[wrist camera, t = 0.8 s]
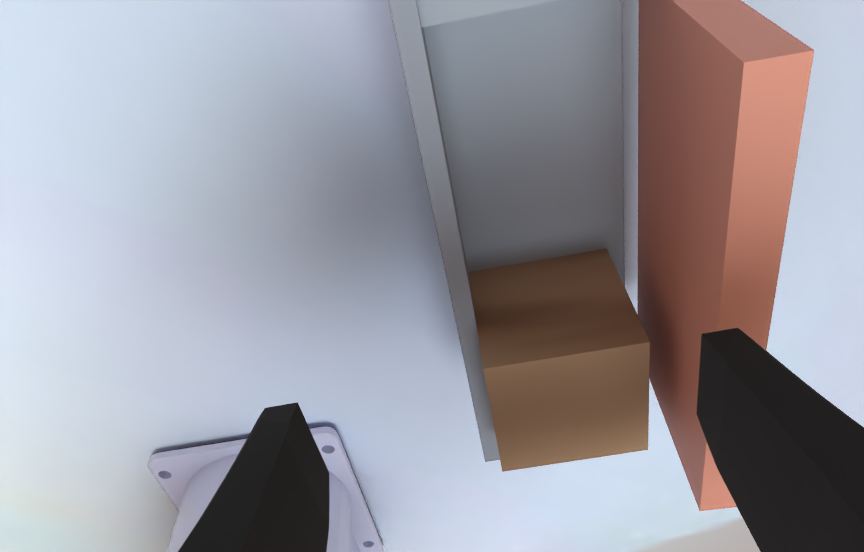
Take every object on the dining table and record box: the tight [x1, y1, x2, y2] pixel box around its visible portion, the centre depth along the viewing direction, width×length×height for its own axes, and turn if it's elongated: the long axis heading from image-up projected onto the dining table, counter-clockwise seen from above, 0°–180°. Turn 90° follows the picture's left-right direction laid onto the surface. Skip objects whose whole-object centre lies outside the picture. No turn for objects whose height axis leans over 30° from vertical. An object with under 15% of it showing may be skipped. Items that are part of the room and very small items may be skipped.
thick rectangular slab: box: [638, 0, 814, 511], centre depth 16 cm, size 11×1×6 cm, turn 10°
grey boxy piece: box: [388, 0, 625, 462], centre depth 18 cm, size 16×5×6 cm, turn 10°
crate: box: [469, 249, 650, 471], centre depth 19 cm, size 4×4×4 cm
